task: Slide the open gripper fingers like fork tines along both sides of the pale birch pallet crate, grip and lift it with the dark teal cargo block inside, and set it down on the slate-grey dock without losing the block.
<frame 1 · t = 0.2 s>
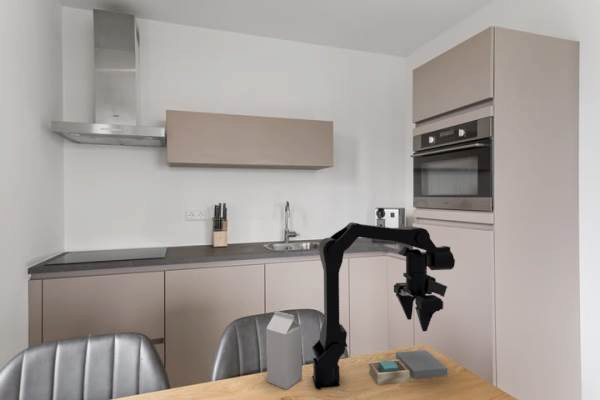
hand: (416, 325, 99), 14 cm above the table, fingers open, 9 cm apart
cargo block: (388, 377, 96), resting on pallet crate
pallet crate: (388, 380, 96), on the table, touching cargo block
dock: (420, 368, 102), on the table
milk carton: (284, 381, 96), on the table
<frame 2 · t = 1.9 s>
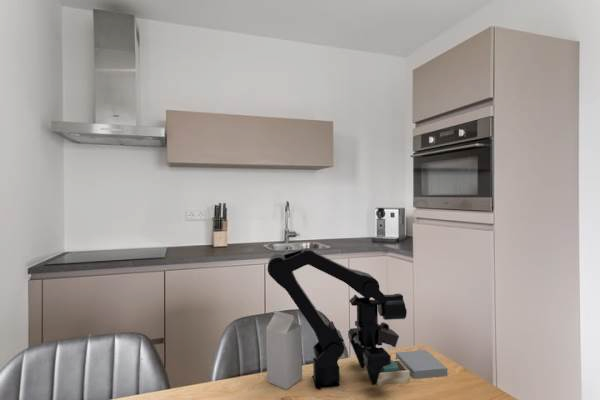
hand: (368, 375, 96), 1 cm above the table, fingers open, 9 cm apart
nothing on the table moved.
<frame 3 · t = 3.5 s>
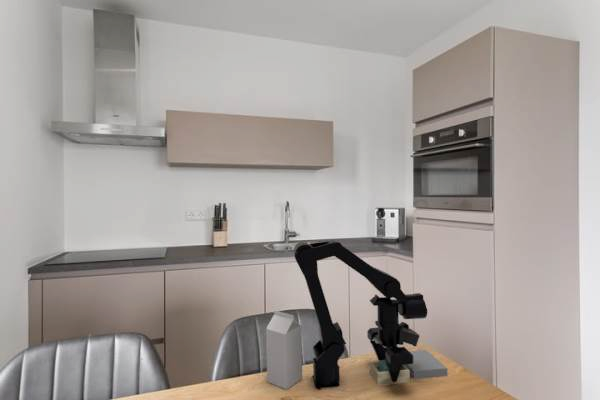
hand: (388, 374, 96), 1 cm above the table, fingers closed on pallet crate, 7 cm apart
pallet crate: (389, 379, 96), on the table, touching cargo block, gripper
everything else where it was.
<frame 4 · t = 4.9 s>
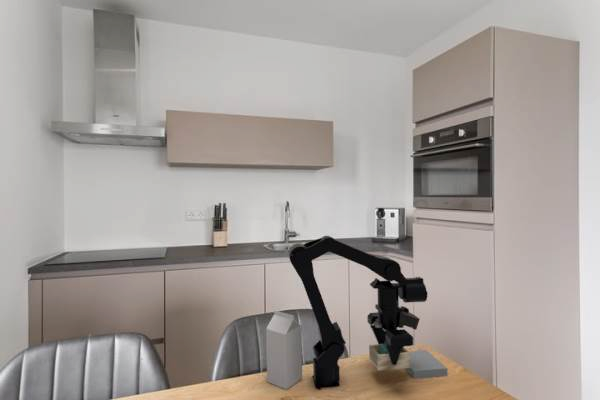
hand: (388, 358, 96), 6 cm above the table, fingers closed on pallet crate, 7 cm apart
cargo block: (388, 359, 96), point 5 cm above the table, touching pallet crate
pallet crate: (388, 362, 96), point 4 cm above the table, touching cargo block, gripper
everything else where it was.
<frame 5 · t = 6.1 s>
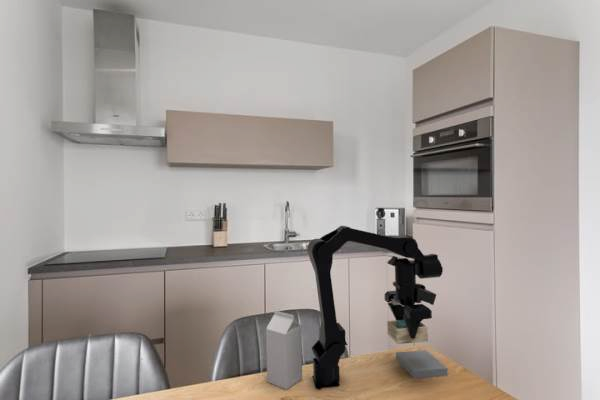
hand: (407, 333, 99), 11 cm above the table, fingers closed on pallet crate, 7 cm apart
cargo block: (407, 334, 99), point 11 cm above the table, touching pallet crate
pallet crate: (407, 337, 99), point 10 cm above the table, touching cargo block, gripper
everything else where it was.
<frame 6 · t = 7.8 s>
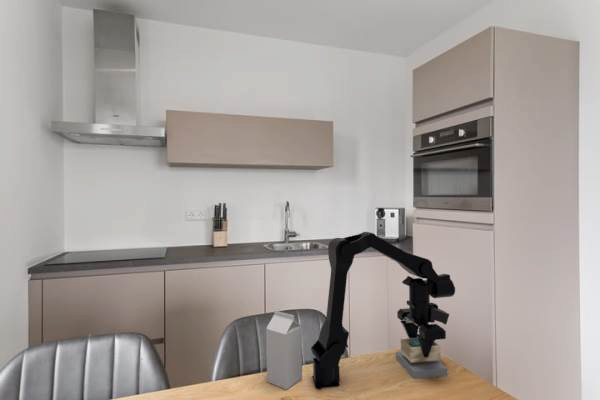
hand: (420, 351, 102), 5 cm above the table, fingers closed on pallet crate, 7 cm apart
cargo block: (419, 352, 102), point 5 cm above the table, touching pallet crate
pallet crate: (420, 355, 102), point 4 cm above the table, touching cargo block, gripper
everything else where it was.
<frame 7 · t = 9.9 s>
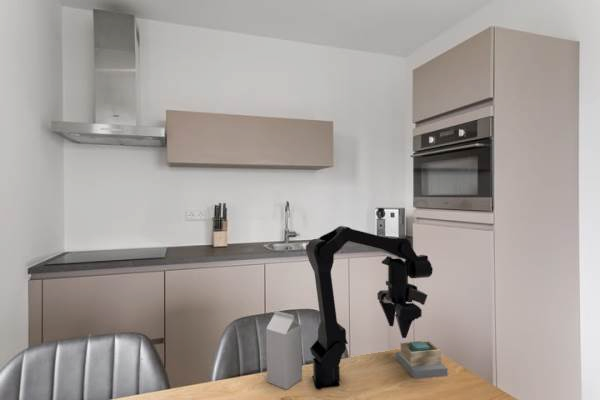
hand: (397, 331, 102), 11 cm above the table, fingers open, 9 cm apart
cargo block: (420, 356, 102), point 3 cm above the table, touching pallet crate
pallet crate: (420, 359, 102), point 2 cm above the table, touching cargo block, dock
everything else where it was.
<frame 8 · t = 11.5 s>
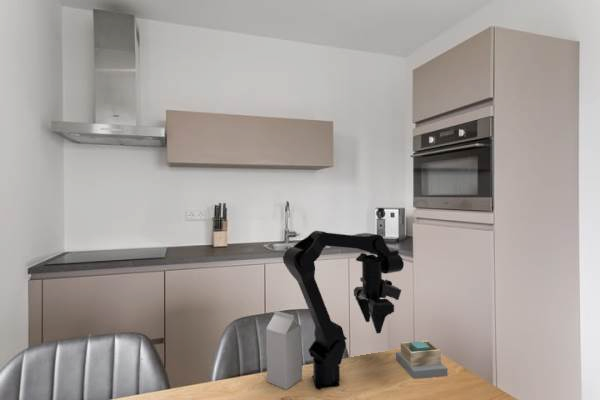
hand: (372, 327, 103), 12 cm above the table, fingers open, 9 cm apart
nothing on the table moved.
at the end: pallet crate inside the target area on the dock (0.1 cm from its centre), point 2.5 cm above the dock's base; cargo block 0.0 cm off-centre on the pallet crate, point 1.0 cm above the pallet crate's base; pallet crate tilted 0° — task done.
